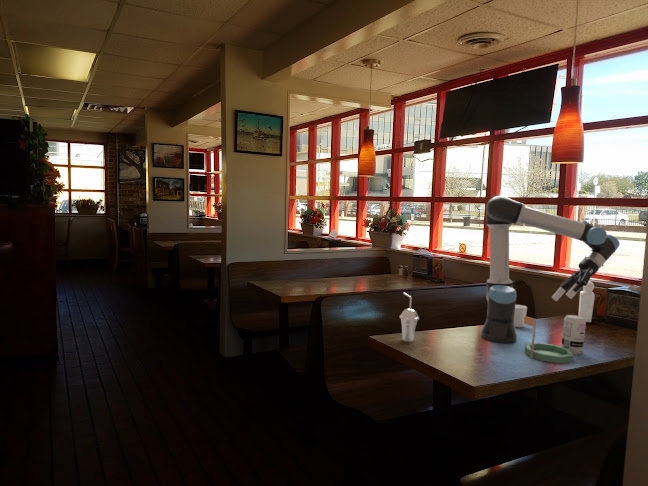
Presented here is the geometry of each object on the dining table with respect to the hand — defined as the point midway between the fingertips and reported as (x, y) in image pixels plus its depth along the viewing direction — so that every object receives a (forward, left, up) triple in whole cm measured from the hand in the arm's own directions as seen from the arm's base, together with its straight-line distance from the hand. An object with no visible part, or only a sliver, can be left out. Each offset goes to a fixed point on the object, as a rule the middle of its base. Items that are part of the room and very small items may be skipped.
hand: (560, 298), depth 206 cm
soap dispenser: (+12, +60, -21) cm, 65 cm away
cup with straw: (-58, -34, -21) cm, 70 cm away
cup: (-3, -19, -21) cm, 29 cm away
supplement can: (+6, -7, -21) cm, 23 cm away
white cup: (-19, +24, -21) cm, 37 cm away
